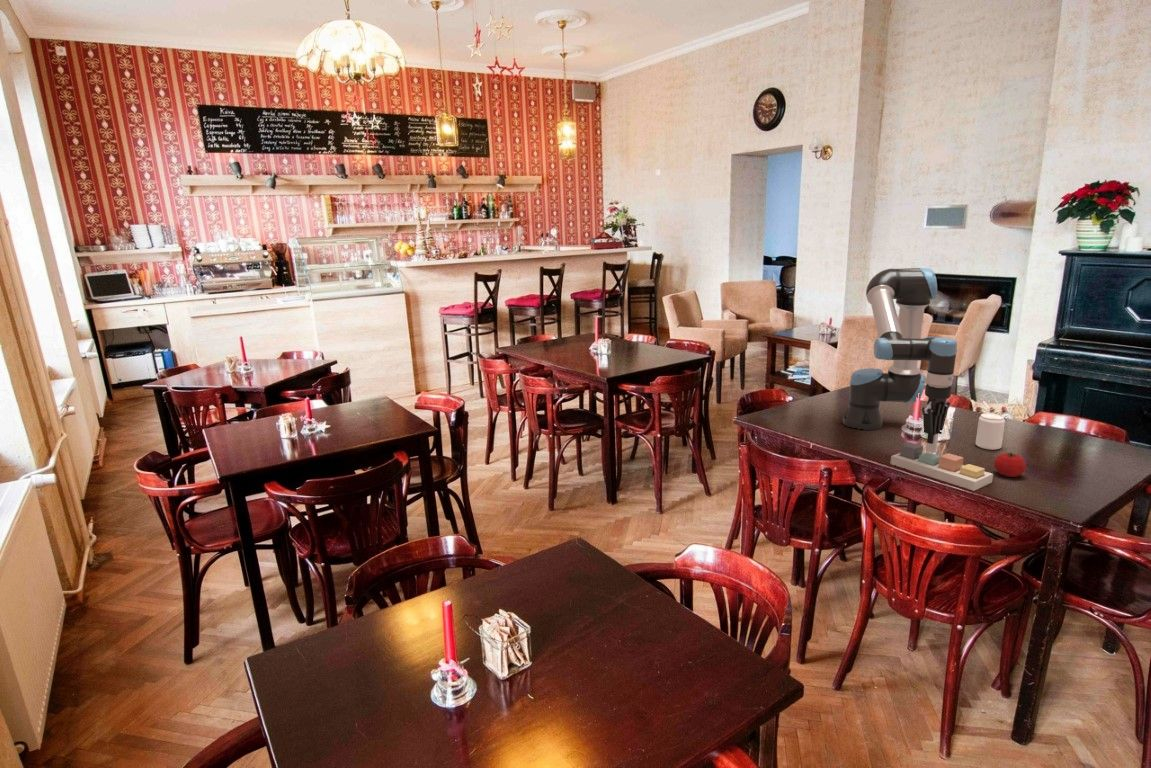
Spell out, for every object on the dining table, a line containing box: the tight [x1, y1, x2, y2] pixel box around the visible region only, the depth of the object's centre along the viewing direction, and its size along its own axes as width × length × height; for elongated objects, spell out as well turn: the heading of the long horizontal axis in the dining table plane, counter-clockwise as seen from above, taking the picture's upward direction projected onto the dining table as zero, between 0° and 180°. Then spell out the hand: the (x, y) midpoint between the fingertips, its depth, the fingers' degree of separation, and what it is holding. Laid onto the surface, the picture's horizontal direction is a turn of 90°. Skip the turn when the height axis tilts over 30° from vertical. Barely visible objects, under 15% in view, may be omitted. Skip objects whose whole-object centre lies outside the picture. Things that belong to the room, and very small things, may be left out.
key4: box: [960, 463, 986, 479], centre depth 203 cm, size 5×5×4 cm
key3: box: [939, 452, 964, 472], centre depth 208 cm, size 5×5×4 cm
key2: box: [919, 451, 941, 466], centre depth 214 cm, size 5×5×4 cm
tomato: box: [993, 452, 1027, 478], centre depth 208 cm, size 9×9×8 cm
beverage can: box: [975, 412, 1006, 451], centre depth 232 cm, size 8×8×12 cm
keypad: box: [889, 452, 994, 492], centre depth 212 cm, size 28×11×3 cm, turn 32°
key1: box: [899, 441, 924, 460], centre depth 220 cm, size 5×5×4 cm
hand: (930, 451), depth 214 cm, fingers closed
